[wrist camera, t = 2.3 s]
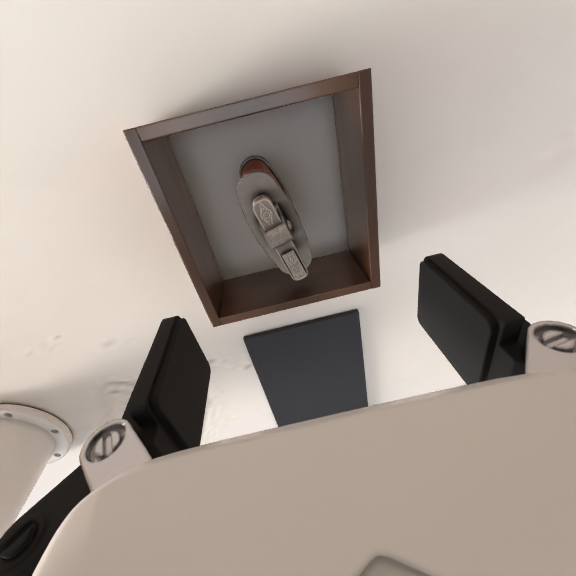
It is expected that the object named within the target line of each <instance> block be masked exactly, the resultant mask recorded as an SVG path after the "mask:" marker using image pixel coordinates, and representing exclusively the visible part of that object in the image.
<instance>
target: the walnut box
mask: <svg viewBox="0 0 576 576" xmlns="http://www.w3.org/2000/svg"><path fill="white" fill-rule="evenodd" d="M331 94H333V103H334V113H335V122H336V132H337V141H338V151H339V160H340V170H341V179H342V189H343V198H344V208H345V217H346V227H347V236H348V246H349V251H344V252H340V253H336V254H332V255H328V256H324V257H320V258H316V259H312V260H311V263H310V265H309V266H308V267H307V271H308V274H307V276H306V277H304V278H303V279H300V280H294V279H293V278H292V277H291V275H290V274H287V273H284V272H283V271H281V270H280V268H275V269H271V270H267V271H263V272H259V273H255V274H251V275H247V276H243V277H239V278H234V279H230V280H226V281H224V280H223V277H222V275H221V272H220V270H219V267H218V265H217V262H216V260H215V257H214V254H213V252H212V249H211V247H210V244H209V242H208V239H207V237H206V234H205V231H204V229H203V226H202V224H201V221H200V219H199V216H198V214H197V211H196V208H195V206H194V203H193V201H192V198H191V196H190V193H189V191H188V188H187V185H186V183H185V180H184V178H183V175H182V173H181V170H180V167H179V165H178V162H177V160H176V157H175V155H174V152H173V150H172V147H171V144H170V142H169V139H168V137H167V136H168V135H172V134H176V133H180V132H184V131H188V130H192V129H196V128H200V127H204V126H208V125H212V124H216V123H220V122H224V121H227V120H231V119H235V118H239V117H243V116H247V115H251V114H255V113H259V112H263V111H267V110H271V109H275V108H279V107H283V106H287V105H291V104H295V103H299V102H303V101H307V100H311V99H315V98H319V97H323V96H327V95H331ZM123 133H124V135H125V137H126V140H127V142H128V144H129V146H130V148H131V150H132V153H133V155H134V157H135V159H136V161H137V163H138V165H139V168H140V170H141V172H142V174H143V176H144V178H145V181H146V183H147V185H148V187H149V189H150V191H151V194H152V196H153V198H154V200H155V202H156V204H157V207H158V209H159V211H160V213H161V215H162V217H163V220H164V222H165V224H166V226H167V228H168V230H169V233H170V235H171V237H172V239H173V241H174V243H175V246H176V248H177V250H178V252H179V254H180V256H181V259H182V261H183V263H184V265H185V267H186V269H187V271H188V274H189V276H190V278H191V280H192V282H193V284H194V287H195V289H196V291H197V293H198V295H199V297H200V300H201V302H202V304H203V306H204V308H205V310H206V313H207V315H208V317H209V319H210V321H211V323H212V326H213V327H216V326H220V325H224V324H228V323H232V322H237V321H241V320H245V319H249V318H253V317H257V316H261V315H265V314H269V313H273V312H277V311H282V310H286V309H290V308H294V307H298V306H302V305H306V304H310V303H314V302H318V301H323V300H327V299H331V298H335V297H339V296H343V295H347V294H351V293H355V292H359V291H363V290H368V289H371V288H376V287H380V266H379V242H378V219H377V196H376V173H375V150H374V126H373V103H372V80H371V68H368V69H365V70H361V71H357V72H353V73H349V74H345V75H341V76H337V77H333V78H329V79H325V80H321V81H317V82H313V83H309V84H305V85H301V86H297V87H293V88H289V89H285V90H281V91H277V92H274V93H270V94H266V95H262V96H258V97H254V98H250V99H246V100H242V101H238V102H234V103H230V104H226V105H222V106H218V107H214V108H210V109H206V110H202V111H198V112H194V113H190V114H186V115H182V116H178V117H175V118H171V119H167V120H163V121H159V122H155V123H151V124H147V125H143V126H139V127H135V128H131V129H127V130H123Z"/></svg>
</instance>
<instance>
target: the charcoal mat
mask: <svg viewBox="0 0 576 576" xmlns="http://www.w3.org/2000/svg"><path fill="white" fill-rule="evenodd" d="M244 342H245V345H246V347H247V350H248V352H249V355H250V357H251V360H252V362H253V365H254V367H255V370H256V372H257V375H258V377H259V380H260V382H261V385H262V387H263V390H264V392H265V395H266V397H267V400H268V402H269V405H270V407H271V410H272V412H273V415H274V417H275V420H276V422H277V425H278V427H281V426H285V425H290V424H294V423H298V422H303V421H307V420H311V419H316V418H320V417H324V416H329V415H333V414H338V413H342V412H346V411H351V410H355V409H360V408H364V407H368V402H367V392H366V382H365V372H364V362H363V351H362V341H361V331H360V321H359V312H358V310H357V309H356V310H352V311H348V312H343V313H339V314H335V315H331V316H327V317H323V318H319V319H315V320H311V321H306V322H302V323H298V324H294V325H290V326H286V327H282V328H278V329H274V330H270V331H265V332H261V333H257V334H253V335H249V336H245V337H244Z"/></svg>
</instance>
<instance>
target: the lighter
mask: <svg viewBox="0 0 576 576" xmlns="http://www.w3.org/2000/svg"><path fill="white" fill-rule="evenodd" d="M239 173H240V179H241V180H240V182H239V184H238V189H237V195H238V199H239V202H240V205H241V208H242V210H243V213H244V216H245V218H246V221H247V222H248V224H249V226H250V228H251V230H252V232H253V234H254V236H255V238H256V240H257V241H258V243H259V244H260V245H261V247H262V248H263V250H264V251H265V252H266V254H267V255H268V257H269V258H270V259H271V260H272V261H273V262H274V263H275V264H276V265H277V266H278V267H279V268H280V270H281V271H283V272H284V273H287V274H290V275H291V277H292V278H293V279H294V280H300V279H303V278H304V277H306V276H307V274H308V271H307V267H308V266H309V265H310V263H311V260H312V255H311V251H310V247H309V243H308V239H307V236H306V234H305V231H304V229H303V226H302V224H301V221H300V219H299V216H298V214H297V213H296V211H295V209H294V207H293V205H292V203H291V200H290V198H289V195H288V193H287V191H286V189H285V187H284V186H283V184H282V182H281V181H280V179H279V177H278V176H277V174H276V173H275V172H274V170H273V169H272V168H271V166H270V165H269V164H268V162H267V161H266V160H265V159H264V158H262V157H260V156H251V157H249V158H247V159H246V160H245V161H243V163H242V165H241V167H240V172H239Z"/></svg>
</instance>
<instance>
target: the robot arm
mask: <svg viewBox="0 0 576 576" xmlns="http://www.w3.org/2000/svg"><path fill="white" fill-rule="evenodd" d="M417 316H418V320H419V323H420V324H421V326H422V327H423V328H424V330H425V331H426V332H427V333H428V335H429V336H430V337H431V339H432V340H433V341H434V343H435V344H436V345H437V346H438V348H439V349H440V350H441V352H442V353H443V354H444V355H445V357H446V358H447V359H448V361H449V362H450V363H451V365H452V366H453V367H454V368H455V370H456V371H457V372H458V374H459V375H460V376H461V378H462V379H463V380H464V381H465V383H466V384H467V385H464V386H459V387H454V388H449V389H445V390H440V391H436V392H431V393H427V394H422V395H418V396H413V397H409V398H404V399H400V400H395V401H391V402H386V403H382V404H377V405H373V406H369V407H364V408H360V409H355V410H351V411H346V412H342V413H338V414H333V415H329V416H324V417H320V418H316V419H311V420H307V421H303V422H298V423H294V424H290V425H285V426H281V427H277V428H272V429H268V430H264V431H260V432H255V433H251V434H247V435H242V436H238V437H234V438H230V439H225V440H221V441H217V442H213V443H209V444H205V445H201V446H200V441H201V434H202V427H203V420H204V414H205V407H206V400H207V393H208V387H209V380H210V373H211V370H210V365H209V363H208V361H207V359H206V357H205V355H204V353H203V351H202V349H201V348H200V346H199V344H198V342H197V340H196V338H195V336H194V334H193V332H192V330H191V329H190V327H189V325H188V323H187V321H186V319H184V318H182V319H181V318H180V317H179V316H175V317H170V318H166V319H163V320H162V322H161V324H160V327H159V329H158V332H157V334H156V337H155V339H154V341H153V344H152V346H151V349H150V351H149V354H148V356H147V359H146V361H145V363H144V365H143V368H142V370H141V373H140V375H139V377H138V380H137V382H136V385H135V387H134V390H133V392H132V394H131V397H130V399H129V402H128V404H127V407H126V409H125V412H124V414H123V416H122V419H115V420H112V421H110V422H107V423H105V424H104V425H102V426H101V427H99V428H98V429H97V430H96V431H95V432H93V433H92V434H91V435H90V437H89V438H88V439H87V440H86V442H85V443H84V445H83V447H82V449H81V452H80V455H79V459H80V464H81V465H80V466H79V467H78V468H77V469H75V470H74V471H73V472H72V473H71V474H70V475H68V476H67V477H66V478H65V479H64V480H63V481H62V482H60V483H59V484H58V485H57V486H56V487H55V488H54V489H52V490H51V491H50V492H49V493H48V494H47V495H46V496H44V497H43V498H42V499H41V500H40V501H39V502H37V503H36V504H35V505H34V506H33V507H32V508H31V509H29V510H28V511H27V512H26V513H25V514H24V515H23V516H21V517H20V518H19V519H18V520H17V521H16V522H15V523H14V521H15V519H16V518H17V516H18V514H19V512H20V511H21V509H22V507H23V505H24V503H25V502H26V500H27V498H28V496H29V495H30V493H31V491H32V489H33V487H34V486H35V484H36V482H37V480H38V479H39V477H40V475H41V473H42V471H43V470H44V468H45V466H46V464H49V463H52V462H55V461H57V460H59V459H60V458H62V457H63V456H64V455H65V454H66V453H67V452H68V450H69V448H70V446H71V444H72V434H71V432H70V430H69V429H68V427H67V426H66V425H65V424H64V423H63V422H62V421H60V420H59V419H58V418H56V417H54V416H52V415H50V414H48V413H46V412H44V411H41V410H38V409H35V408H31V407H27V406H21V405H12V404H0V576H576V327H575V326H572V325H570V324H566V323H562V322H557V321H539V322H536V323H533V324H532V325H531V324H530V323H529V322H527V321H526V320H525V317H523V316H522V315H521V314H520V313H518V312H517V311H516V310H514V309H513V308H512V307H511V306H509V305H508V304H507V303H505V302H504V301H503V300H502V299H500V298H499V297H498V296H496V295H495V294H494V293H493V292H491V291H490V290H489V289H487V288H486V287H485V286H484V285H482V284H481V283H480V282H478V281H477V280H476V279H475V278H473V277H472V276H471V275H469V274H468V273H467V272H466V271H464V270H463V269H462V268H460V267H459V266H458V265H457V264H455V263H454V262H453V261H451V260H450V259H449V258H448V257H446V256H445V255H444V254H442V253H440V254H436V255H431V256H427V257H425V258H424V261H422V262H421V263H420V272H419V293H418V314H417ZM13 523H14V524H13Z"/></svg>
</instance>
